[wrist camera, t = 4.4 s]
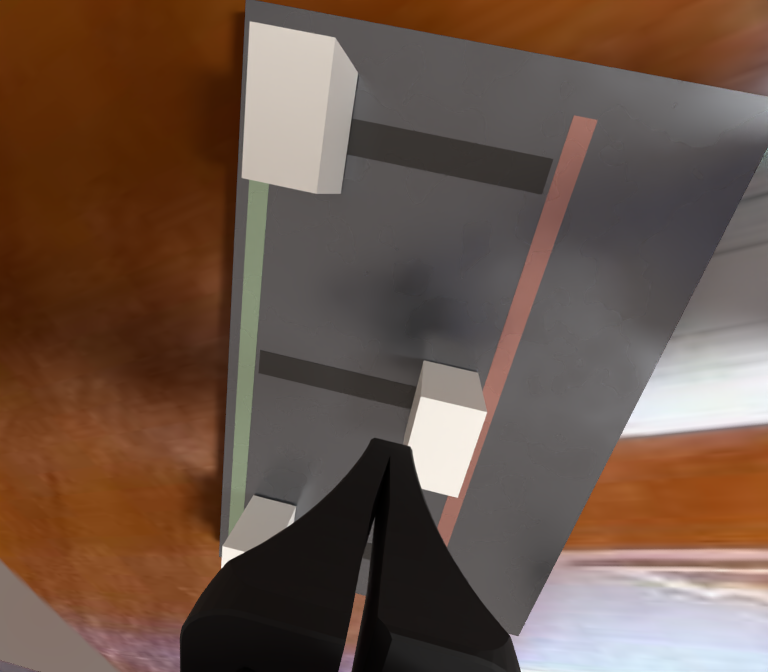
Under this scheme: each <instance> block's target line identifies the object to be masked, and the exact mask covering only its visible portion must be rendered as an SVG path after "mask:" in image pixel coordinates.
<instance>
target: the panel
mask: <svg viewBox="0 0 768 672" xmlns="http://www.w3.org/2000/svg"><path fill="white" fill-rule="evenodd" d="M250 21H251V22H256V23H262V24H267V25H272V26H277V27H283V28H288V29H293V30H298V31H304V32H309V33H314V34H319V35H325V36H330V37H335V38H336V39H337V41H338V42H339V44H340V46H341V47H342V49H343V50H344V52H345V53H346V55H347V56H348V58H349V59H350V61H351V62H352V64H353V66H354V67H355V69H356V70H357V72H358V77H357V84H356V91H355V98H354V105H353V112H352V119H351V126H350V133H349V140H348V147H347V154H346V161H345V168H344V175H343V182H342V189H341V194H315V193H310V192H305V191H301V190H296V189H291V188H287V187H282V186H277V185H272V184H268V183H263V182H258V181H254V180H249V179H244V178H242V160H243V141H244V122H245V103H246V83H247V64H248V45H249V25H250ZM767 147H768V97H767V96H761V95H756V94H751V93H745V92H740V91H735V90H729V89H724V88H719V87H713V86H708V85H703V84H697V83H692V82H687V81H682V80H676V79H671V78H666V77H660V76H655V75H650V74H644V73H639V72H634V71H628V70H623V69H618V68H612V67H607V66H602V65H596V64H591V63H586V62H580V61H575V60H570V59H564V58H559V57H554V56H548V55H543V54H538V53H532V52H527V51H522V50H517V49H511V48H506V47H501V46H495V45H490V44H485V43H479V42H474V41H469V40H463V39H458V38H453V37H447V36H442V35H437V34H431V33H426V32H421V31H415V30H410V29H405V28H399V27H394V26H389V25H383V24H378V23H373V22H367V21H362V20H357V19H352V18H346V17H341V16H336V15H330V14H325V13H320V12H314V11H309V10H304V9H298V8H293V7H288V6H282V5H277V4H272V3H266V2H261V1H256V0H246V7H245V28H244V49H243V70H242V91H241V112H240V132H239V153H238V174H237V195H236V216H235V237H234V257H233V278H232V299H231V320H230V341H229V362H228V382H227V403H226V424H225V445H224V466H223V487H222V507H221V528H220V549H219V557H222V546H223V544H224V543H225V541H226V539H227V538H228V536H229V535H230V533H231V531H232V530H233V528H234V526H235V525H236V523H237V521H238V520H239V518H240V516H241V515H242V513H243V511H244V510H245V508H246V507H247V505H248V503H249V502H250V500H251V498H252V497H253V495H254V496H258V497H262V498H266V499H270V500H274V501H278V502H282V503H286V504H289V505H293V506H296V511H295V518H294V522H295V521H296V520H298V519H299V518H300V517H302V516H303V515H304V514H305V513H307V512H308V511H309V510H311V509H312V508H313V507H314V506H315V505H316V504H318V503H319V502H320V501H321V500H322V499H323V498H324V497H325V496H326V495H328V494H329V493H330V492H331V491H332V490H333V489H334V488H335V487H336V485H337V484H338V483H339V482H340V481H341V480H342V479H343V478H344V477H345V476H346V475H347V474H348V472H349V471H350V470H351V469H352V467H353V466H354V465H355V464H356V463H357V461H358V460H359V459H360V457H361V456H362V454H363V453H364V451H365V450H366V448H367V446H368V445H369V443H370V440H371V439H373V438H379V439H383V440H387V441H391V442H395V443H399V444H403V442H404V435H405V431H406V427H407V423H408V419H409V415H410V412H411V408H412V404H413V400H414V396H415V392H416V388H417V384H418V380H419V377H420V373H421V369H422V365H423V361H424V360H425V361H429V362H433V363H438V364H442V365H446V366H451V367H455V368H459V369H464V370H468V371H472V372H476V373H478V374H479V379H480V383H481V387H482V392H483V396H484V400H485V405H486V409H487V414H486V417H485V420H484V423H483V426H482V429H481V432H480V435H479V438H478V440H477V443H476V446H475V449H474V452H473V455H472V458H471V461H470V464H469V467H468V469H467V472H466V475H465V478H464V481H463V484H462V487H461V490H460V493H459V496H458V498H456V497H452V496H448V495H444V494H440V493H436V492H432V491H428V490H424V489H422V491H423V494H424V497H425V500H426V503H427V505H428V508H429V510H430V513H431V515H432V518H433V520H434V522H435V524H436V527H437V529H438V531H439V533H440V535H441V537H442V539H443V541H444V543H445V545H446V546H447V548H448V550H449V552H450V554H451V555H452V557H453V559H454V561H455V562H456V564H457V565H458V567H459V569H460V570H461V572H462V573H463V575H464V576H465V578H466V580H467V581H468V583H469V584H470V586H471V587H472V589H473V590H474V592H475V593H476V594H477V596H478V597H479V599H480V600H481V601H482V603H483V604H484V605H485V606H486V608H487V609H488V610H489V611H490V613H491V614H492V615H493V616H494V617H495V619H496V620H497V621H498V622H499V623H500V625H501V626H502V627H503V628H504V629H505V631H506V632H507V633H508V634H512V635H516V636H519V634H520V632H521V630H522V628H523V626H524V624H525V622H526V620H527V618H528V616H529V614H530V612H531V610H532V608H533V606H534V604H535V602H536V600H537V598H538V596H539V594H540V592H541V591H542V589H543V587H544V585H545V583H546V581H547V579H548V577H549V575H550V573H551V571H552V569H553V567H554V565H555V563H556V561H557V559H558V557H559V555H560V553H561V551H562V549H563V547H564V545H565V543H566V541H567V540H568V538H569V536H570V534H571V532H572V530H573V528H574V526H575V524H576V522H577V520H578V518H579V516H580V514H581V512H582V510H583V508H584V506H585V504H586V502H587V500H588V498H589V496H590V494H591V492H592V490H593V488H594V487H595V485H596V483H597V481H598V479H599V477H600V475H601V473H602V471H603V469H604V467H605V465H606V463H607V461H608V459H609V457H610V455H611V453H612V451H613V449H614V447H615V445H616V443H617V441H618V439H619V437H620V435H621V434H622V432H623V430H624V428H625V426H626V424H627V422H628V420H629V418H630V416H631V414H632V412H633V410H634V408H635V406H636V404H637V402H638V400H639V398H640V396H641V394H642V392H643V390H644V388H645V386H646V384H647V382H648V381H649V379H650V377H651V375H652V373H653V371H654V369H655V367H656V365H657V363H658V361H659V359H660V357H661V355H662V353H663V351H664V349H665V347H666V345H667V343H668V341H669V339H670V337H671V335H672V333H673V331H674V330H675V328H676V326H677V324H678V322H679V320H680V318H681V316H682V314H683V312H684V310H685V308H686V306H687V304H688V302H689V300H690V298H691V296H692V294H693V292H694V290H695V288H696V286H697V284H698V282H699V280H700V278H701V277H702V275H703V273H704V271H705V269H706V267H707V265H708V263H709V261H710V259H711V257H712V255H713V253H714V251H715V249H716V247H717V245H718V243H719V241H720V239H721V237H722V235H723V233H724V231H725V229H726V227H727V225H728V224H729V222H730V220H731V218H732V216H733V214H734V212H735V210H736V208H737V206H738V204H739V202H740V200H741V198H742V196H743V194H744V192H745V190H746V188H747V186H748V184H749V182H750V180H751V178H752V176H753V174H754V173H755V171H756V169H757V167H758V165H759V163H760V161H761V159H762V157H763V155H764V153H765V151H766V149H767ZM374 520H375V518H374ZM373 529H374V522H373V525H372V528H371V531H370V535H369V538H368V541H367V544H366V547H365V551H364V554H363V557H362V561H361V566H360V571H359V577H358V582H357V587H356V592H355V593H358V594H361V595H365V596H366V593H367V586H368V577H369V567H370V558H371V548H372V539H373Z"/></svg>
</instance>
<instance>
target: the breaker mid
mask: <svg viewBox="0 0 768 672" xmlns="http://www.w3.org/2000/svg"><path fill="white" fill-rule="evenodd" d="M486 414H487V409H486V405H485V400H484V396H483V392H482V387H481V383H480V379H479V374H478V373H476V372H472V371H468V370H464V369H459V368H455V367H451V366H446V365H442V364H438V363H433V362H429V361H425V360H424V361H423V365H422V369H421V373H420V377H419V380H418V384H417V388H416V392H415V396H414V400H413V404H412V408H411V412H410V415H409V419H408V423H407V427H406V431H405V435H404V442H403V445H407V446H410V447H411V449H412V451H413V458H414V463H415V468H416V471H417V475H418V479H419V482H420V485H421V488H422V489H424V490H428V491H432V492H436V493H440V494H444V495H448V496H452V497H456V498H458V496H459V493H460V490H461V487H462V484H463V481H464V478H465V475H466V472H467V469H468V467H469V464H470V461H471V458H472V455H473V452H474V449H475V446H476V443H477V440H478V438H479V435H480V432H481V429H482V426H483V423H484V420H485V417H486Z"/></svg>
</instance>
